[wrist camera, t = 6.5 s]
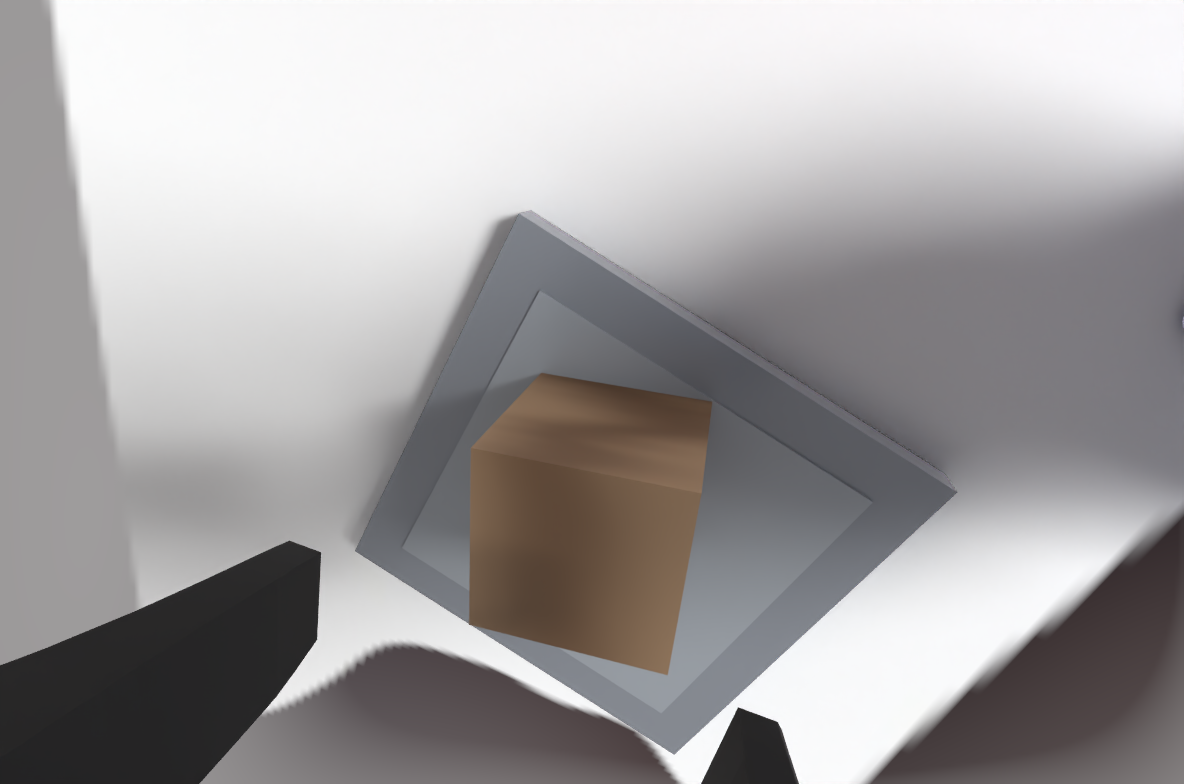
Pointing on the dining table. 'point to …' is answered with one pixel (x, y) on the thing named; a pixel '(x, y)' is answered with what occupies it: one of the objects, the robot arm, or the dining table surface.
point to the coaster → (729, 492)
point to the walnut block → (587, 518)
